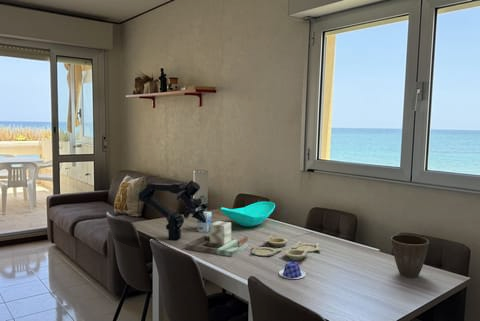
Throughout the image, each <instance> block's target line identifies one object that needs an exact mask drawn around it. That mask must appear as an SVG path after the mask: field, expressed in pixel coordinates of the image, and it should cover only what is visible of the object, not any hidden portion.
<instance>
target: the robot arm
mask: <svg viewBox="0 0 480 321" xmlns="http://www.w3.org/2000/svg"><path fill="white" fill-rule="evenodd" d="M200 189H201V186H200V184H199V183H197V182H195V181H194V180H190V181H189V182H188V183H187V185H186V184H184V183H183V182H176V183H158V182H157V183H156V182H153V183H149V184H148V185H147V186H146V187H145V188H144V189H143V190H142V191H140V192H139V193H138V200H139V201H140V202H142V203H144V204H147V205H149V206H151V207H152V208H153V209H154V210H155V211H157V212H158V213H159V214H161V215H162V216H163V217H164V218H165V219H166V221H167V224H166V225H165V229H166V230H167V232H168V234H167V235H168V236H167V239H166V240H169V241H179V240H180V239H181V238H182V230H181V228H182V226H183V224H184V222H185V219H189V218H190V215H191V218H194V219H196V220H197V219H198V220H200V221H202V222H204V223H205V222H206V219H205V216H204V213H203V212H205V210H207V209H208V207H209V204H208V203H207V197H206V196H205V195H200V196H199V198H194V197H193V196H195V195H196V194H197V192H199V190H200ZM156 191H161V192H162V191H163V192H164V191H165V192H169V193H171V194H175V195H177V197H176V200H177V201H179V200H181V202H182V203H183V204H184V207H185V208H187V210H185V211H184V213H183V214H181V213H180V212H179V211H174V212H173V211H171V209H170V208H168V207H166V205H164V204H163V203H162V202H160V201H159V200H158V199H157V198H156V196H155V193H156Z"/></svg>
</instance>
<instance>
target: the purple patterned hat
mask: <svg viewBox="0 0 480 321" xmlns="http://www.w3.org/2000/svg"><path fill="white" fill-rule="evenodd" d="M278 275H279V276H280V277H282V278H285V279H289V280H295V279H296V280H297V279H302V278H304V277H306V276H307V272H305V271H304V270H302V269H301V267H300V263H299V262H296V261H287V262H286V263H285V265H284V268H283V269H281V270H279V271H278Z"/></svg>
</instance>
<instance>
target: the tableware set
mask: <svg viewBox="0 0 480 321" xmlns="http://www.w3.org/2000/svg"><path fill="white" fill-rule="evenodd" d="M263 242H265V243H269V244H270V246H272V247H268V246H267V247H265V246H264V247H263V246H261V247H259V245H252V249H251V254H252V255H255V256H259V257H271V256H273V255H274V256H275V255H276V254H277V253H279V252H281V251H282V250H283V248H276V249H275V248H273V247H283V246H284V245H285V244H287V243H288V242H289V240H288V239H287V238H285V237H279V236H277V237H274V235H273V234H270V235H269V236H268V237H267V238H266V239H265V238H264V239H263ZM319 245H320V243H318V242H315V243H308V242H306V243H305V242H303V243H302V241H298V242H296V243H295V244H294V245H293V246H291V249H289V248H288V249H287V250H285V251H284V252H283V253H284V255H285V256H287V257H288V258H289V259H290V260H293V261H300V260H303V259H304V258H305V257H306V256H307V255H308V253H313V252H314V253H315V252H318V251H321V252H322V248H321V246H319ZM259 250H260V252H257V251H259Z"/></svg>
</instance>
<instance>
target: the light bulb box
mask: <svg viewBox="0 0 480 321" xmlns="http://www.w3.org/2000/svg"><path fill="white" fill-rule="evenodd" d="M203 213H204V216H205V219H206V222H205V223H204V222H202V221H200V220H198V219H196V220H197V221H196V223H197V232H200V233H202V232H203V233H208V232H210V224H211V223H213V213H212V211H204V212H203Z"/></svg>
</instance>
